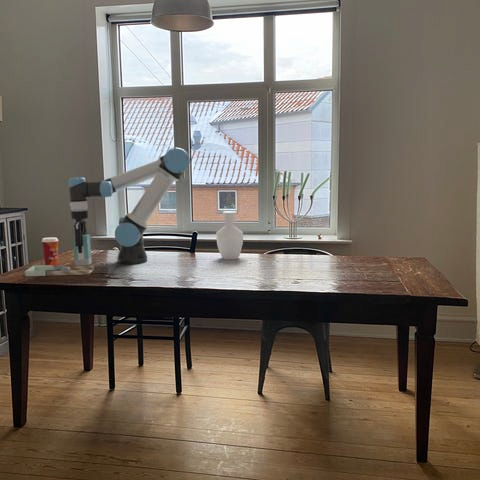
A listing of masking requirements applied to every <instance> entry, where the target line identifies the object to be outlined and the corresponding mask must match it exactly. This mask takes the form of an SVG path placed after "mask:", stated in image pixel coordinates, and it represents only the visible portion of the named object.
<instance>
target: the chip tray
mask: <svg viewBox="0 0 480 480" xmlns="http://www.w3.org/2000/svg"><path fill="white" fill-rule="evenodd" d="M53 267H54V266H53V265H45V264H44V265H41V264H40V265H33V266H31V267H29V268H28V269H26V270H25V271H24V277H40V276H41V277H45V276H47V272H46V271H54V268H53Z"/></svg>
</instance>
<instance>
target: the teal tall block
mask: <svg viewBox="0 0 480 480" xmlns="http://www.w3.org/2000/svg"><path fill="white" fill-rule="evenodd" d="M90 235H91V234H88V233H87V235H83V236H82V238H83V247H84V260H78V251H77V246H75V245H76V242H75V235H73V236H72V246H73V257H74V266H91V264H92V263H93V259H92V248H91V247H92V246H91V236H90Z"/></svg>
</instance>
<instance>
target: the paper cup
mask: <svg viewBox="0 0 480 480" xmlns="http://www.w3.org/2000/svg"><path fill="white" fill-rule="evenodd" d="M41 242H42V243H41V244H42V249H43V257H44V258H43V259H44V265H53V267H54V266H57V265H59V239H58V237H43V238H42V240H41Z"/></svg>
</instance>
